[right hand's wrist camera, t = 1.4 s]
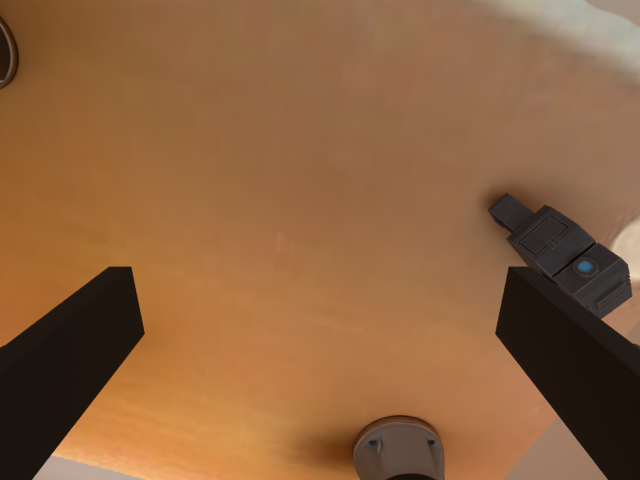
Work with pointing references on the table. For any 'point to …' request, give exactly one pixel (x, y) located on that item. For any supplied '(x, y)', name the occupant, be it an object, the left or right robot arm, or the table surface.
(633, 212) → the table surface
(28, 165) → the table surface
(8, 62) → the left robot arm
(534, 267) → the tool
